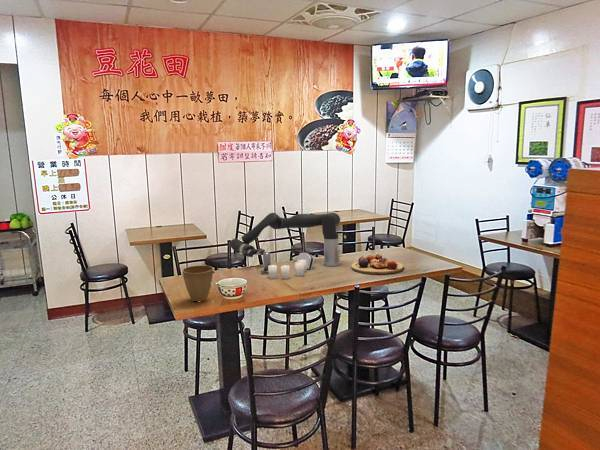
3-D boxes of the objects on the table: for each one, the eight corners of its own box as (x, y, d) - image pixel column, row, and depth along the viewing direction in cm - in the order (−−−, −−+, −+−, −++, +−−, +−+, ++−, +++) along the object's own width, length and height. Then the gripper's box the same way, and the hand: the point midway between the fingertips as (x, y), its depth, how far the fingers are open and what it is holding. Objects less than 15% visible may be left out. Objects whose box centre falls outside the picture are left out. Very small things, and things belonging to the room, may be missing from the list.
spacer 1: (276, 276, 257) (276, 264, 255) (277, 278, 252) (277, 266, 251) (268, 276, 256) (267, 265, 255) (269, 279, 251) (268, 267, 250)
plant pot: (183, 306, 208) (181, 273, 206) (185, 296, 223) (183, 266, 220) (215, 303, 211) (213, 271, 209) (215, 294, 226) (213, 264, 223)
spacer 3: (303, 273, 260) (302, 262, 259) (304, 275, 255) (304, 264, 254) (294, 274, 259) (294, 262, 258) (296, 276, 254) (295, 264, 253)
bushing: (271, 270, 268) (270, 251, 266) (272, 272, 263) (271, 253, 261) (262, 271, 267) (261, 251, 265) (263, 273, 262) (262, 253, 260)
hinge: (293, 264, 282) (298, 250, 282) (300, 266, 284) (304, 251, 284) (305, 270, 267) (309, 255, 267) (311, 272, 269) (316, 256, 269)
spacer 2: (289, 276, 255) (288, 264, 254) (290, 278, 250) (290, 267, 249) (280, 277, 254) (280, 265, 253) (281, 279, 249) (281, 267, 248)
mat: (273, 270, 270) (273, 269, 270) (274, 273, 262) (274, 273, 262) (260, 271, 268) (260, 270, 268) (261, 274, 261) (261, 274, 260)
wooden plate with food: (414, 272, 258) (414, 258, 257) (365, 277, 248) (365, 263, 247) (386, 261, 288) (386, 249, 287) (342, 265, 278) (342, 253, 277)
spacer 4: (305, 270, 267) (305, 259, 266) (307, 272, 263) (307, 261, 261) (297, 270, 267) (297, 259, 266) (299, 273, 262) (298, 261, 261)
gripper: (236, 245, 282) (247, 250, 268) (256, 243, 289) (268, 247, 276) (237, 257, 283) (248, 262, 269) (257, 254, 290) (268, 258, 277)
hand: (258, 254), depth 273 cm, fingers open, 8 cm apart
